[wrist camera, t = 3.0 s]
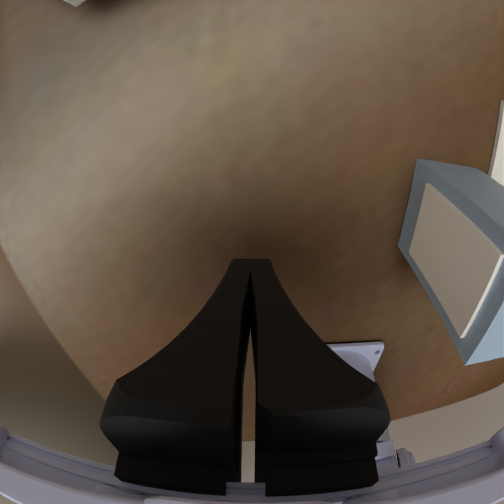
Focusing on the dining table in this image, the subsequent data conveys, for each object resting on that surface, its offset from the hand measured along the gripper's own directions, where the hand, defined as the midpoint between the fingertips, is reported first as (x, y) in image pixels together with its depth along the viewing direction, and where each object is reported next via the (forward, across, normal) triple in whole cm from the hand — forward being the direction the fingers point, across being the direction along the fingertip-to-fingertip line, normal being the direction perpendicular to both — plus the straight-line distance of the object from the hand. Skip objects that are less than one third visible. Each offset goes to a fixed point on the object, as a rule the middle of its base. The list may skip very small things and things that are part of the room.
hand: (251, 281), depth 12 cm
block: (+8, -12, 0) cm, 14 cm away
